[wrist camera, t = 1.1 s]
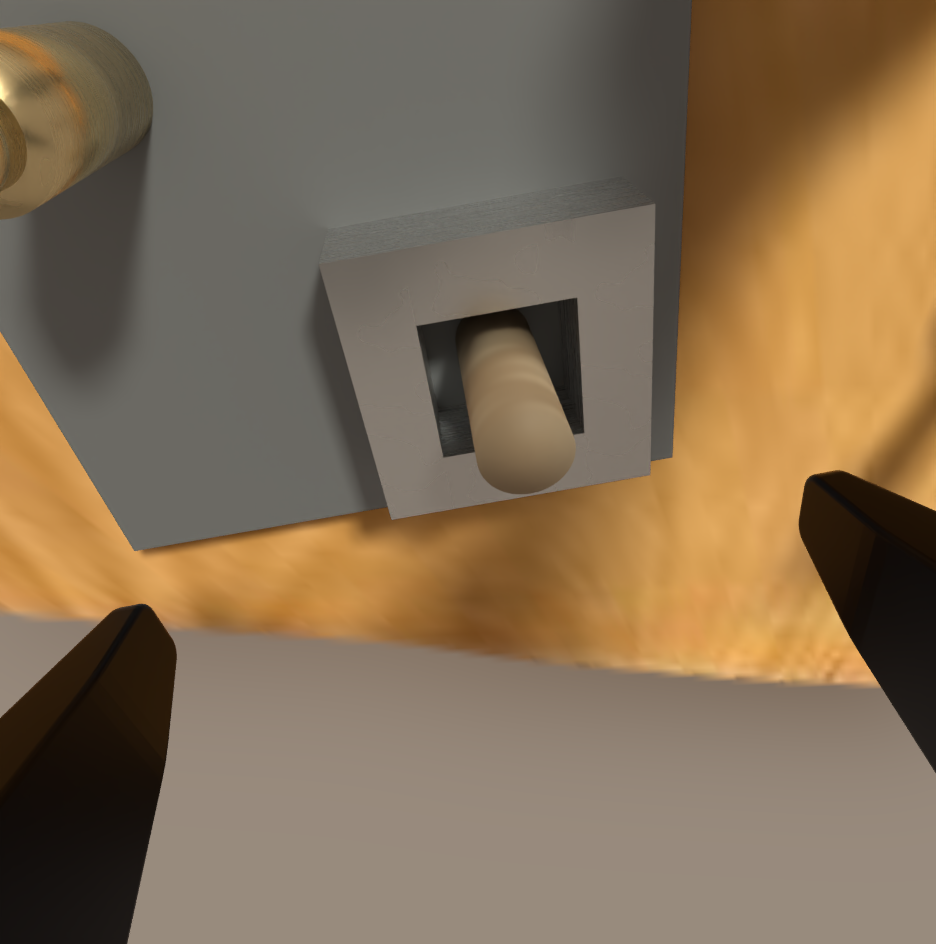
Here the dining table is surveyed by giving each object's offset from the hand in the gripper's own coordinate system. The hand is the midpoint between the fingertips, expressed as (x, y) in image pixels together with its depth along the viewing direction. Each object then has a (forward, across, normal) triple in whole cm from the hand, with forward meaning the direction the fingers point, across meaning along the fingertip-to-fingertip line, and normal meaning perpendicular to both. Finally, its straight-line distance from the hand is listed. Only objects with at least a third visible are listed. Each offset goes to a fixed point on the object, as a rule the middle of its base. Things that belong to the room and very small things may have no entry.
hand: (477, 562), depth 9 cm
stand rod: (+10, -1, +1) cm, 10 cm away
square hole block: (+10, -1, +1) cm, 10 cm away
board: (+11, +2, -2) cm, 12 cm away
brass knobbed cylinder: (+10, +6, -6) cm, 13 cm away
